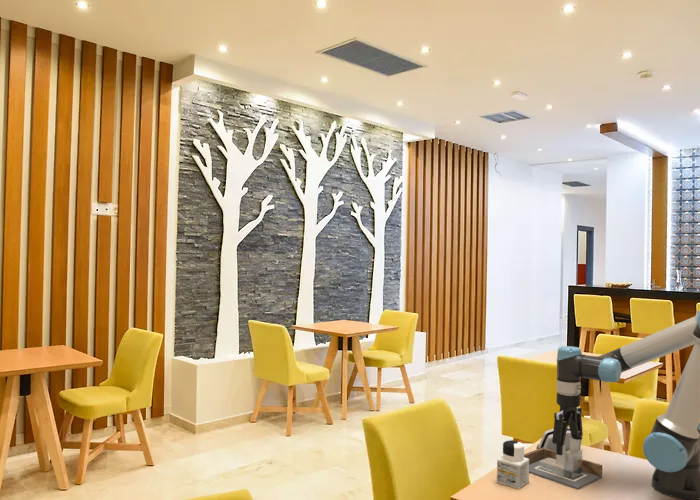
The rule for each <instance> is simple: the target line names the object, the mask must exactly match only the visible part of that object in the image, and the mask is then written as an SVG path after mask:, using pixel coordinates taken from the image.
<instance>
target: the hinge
mask: <svg viewBox="0 0 700 500" xmlns="http://www.w3.org/2000/svg"><path fill="white" fill-rule="evenodd" d="M553 430H554V428H551V429H548V430H546V431H544V433H543V434H542V437H541V439H540V442H539V444H537V445H536V448H535V450H537V449H540V448H542V447H543V448H546V449H550V450H553V451H556V444H554V443H552V440H553ZM580 437H582V438H583V436H580ZM570 438H572V436H571V432H570V427H569V426H568V428H567V432H566V436H565V441H564V445H565V452H566V451H569V450H570ZM582 441H583V439H582V440H579V450H581V445H582Z"/></svg>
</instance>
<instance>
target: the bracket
mask: <svg viewBox="0 0 700 500" xmlns="http://www.w3.org/2000/svg"><path fill="white" fill-rule="evenodd" d="M582 459H583V450H581V449H579V450H577V449H571V450H568V451H565V465H564V466H563V465H560V464H557V463H556V459H553V458H546V459H544V460H541V461H540V465H539V468H540V469H543V470H546V471H549V472H552V473H555V474H558V475H561V476H564V477H567V478H570V479H574V478H577V477H579V476H581V475H582Z"/></svg>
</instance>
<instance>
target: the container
mask: <svg viewBox="0 0 700 500" xmlns="http://www.w3.org/2000/svg"><path fill="white" fill-rule="evenodd" d="M524 454H525V445H524V443H522V442H520V441H517V440H514V439H513V440H511V439H509V440H506V441H504V442H502V456H500V457H499V458H497V459H496V461H497V462H496V482H497V484H500V485H504V486H507V487H511V488H514V489H518V490H520V489H521V488H523V487H524V486H525V485H527V484H528V483H529V481H530V473H529V459H528V458H524Z"/></svg>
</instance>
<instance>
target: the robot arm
mask: <svg viewBox="0 0 700 500" xmlns="http://www.w3.org/2000/svg"><path fill="white" fill-rule="evenodd" d="M691 346H693V347H692V349H691V352H690V355H689V357H688V359H687V361H686V364H685V366H684V367H683V368H684V369H683V371H682V372H681V375H680V378H679V380H678V383H677V384H676V387H675V389H674V392H673V394H672V396H671V398H670V401H669V403H668V406H667V407H666V409H665V412H664V413H663V414H660V415H658V416H657V417H656V419H655V421H654V424H653V426H652V427H651V430H650V433H649V434H648V435H646V437H645V438H644V441H643V444H642V451H643V454H644V456H645V458H646V460H647V461H648V463H649V464H650V465H651V466H652V467H654V468H655V469H654V471H653V473H652V476H651V486H652V488H653V489H654V490H655V491H657V492H660V493H662V494H664V495H666V496H670V497H674V498H678V499H683V500H700V309H699V311H696V313H695V316H692V317H690V318H688V319H685V320H683V321H681V322H678V323H676V324H673V325H671V326H668V327H666V328H665V329H661V330H659V331H657V332H653V333H651V334H650V335H647V336H645V337H643V338H640V339H638V340H636V341H633V342H630V343H628V344H625V345H623V346H621V347H619V348H616V349H613V350H611V351H609V352H606V353H604V354H601V355H597V356H596V355H594V356H593V355H587V354H584V353H582V349H581V348H580V347H578V346H569V345H565V346H563V345H562V346H559V348H558V349H557V354H556V355H557V356H556V392H557V393H556V401H555V402H556V404H557V405H558V406H559V412H554V413H553V416H554V417H553V419H554V423H553V429H554V430H553V440H552V443H554V444H556V463H557V464H560V465H563V466H564V465H565V452H566V451H565V445H564V441H565V436H566V432H567V428H568V427H570V432H571V436H572V438H570V450H571V449H577V450H580V449H579V440H582V441H583V435H584V433H583V422H582V420H583V418H582V412H583V411H582V407H581V395H580V394H581V388H582V384H581V380H582V379H589V380H593V381H601V382H605V383H618V382H619V381H620V378H621V375H622V373H624V372H627V371H630V370H632V369H634V368H637V367H638V366H639V367H640V366H641V365H644V364H647V363H650V362H652V361H655V360H657V359H660V358H663V357H665V356H668V355H670V354H672V353H675V352H678V351H680V350H684V349H686V348H688V347H689V348H690V347H691ZM580 436H582V437H580Z"/></svg>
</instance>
